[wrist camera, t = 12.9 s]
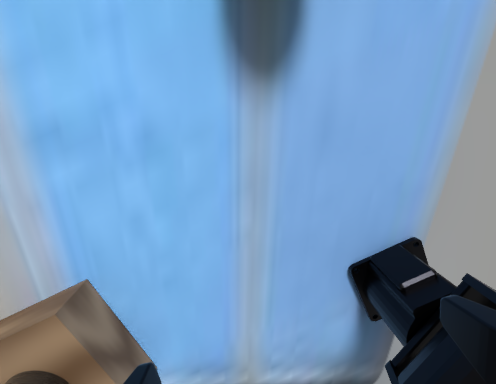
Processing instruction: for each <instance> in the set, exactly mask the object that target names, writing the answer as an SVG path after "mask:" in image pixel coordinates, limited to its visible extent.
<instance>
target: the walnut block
mask: <svg viewBox="0 0 496 384" xmlns="http://www.w3.org/2000/svg"><path fill="white" fill-rule="evenodd" d="M149 362H152V361H151V359H150V358H149V357H148V355H147V354H146V353H145V352H144V350H143V349H142V348H141V347H140V345H139V344H138V343H137V342H136V340H135V339H134V338H133V337H132V335H131V334H130V333H129V331H128V330H127V329H126V328H125V326H124V325H123V324H122V323H121V321H120V320H119V319H118V318H117V316H116V315H115V314H114V313H113V311H112V310H111V309H110V307H109V306H108V305H107V304H106V302H105V301H104V300H103V299H102V297H101V296H100V295H99V294H98V292H97V291H96V290H95V289H94V287H93V286H92V285H91V283H90V282H89V281H88V280H85V281H82V282H80V283H78V284H76V285H74V286H72V287H70V288H68V289H66V290H64V291H61V292H59V293H57V294H55V295H53V296H51V297H49V298H47V299H45V300H43V301H41V302H38V303H36V304H34V305H32V306H30V307H28V308H26V309H24V310H22V311H20V312H17V313H15V314H13V315H11V316H9V317H7V318H5V319H3V320H1V321H0V384H5V383H6V382H7V381H8V380H9V379H10V378H11V377H13V376H14V375H16V374H19V373H21V372H25V371H45V372H50V373H53V374H56V375H58V376H60V377H62V378H63V379H65V380H66V381H67V382H68V383H69V384H123V383H124V382H125V381H126V379H127V378H128V377H129V376H130V374H131V373H132V372H133V371H134V370H135V368H136V367H137V366H138V365H140V364H144V363H149ZM152 363H153V362H152ZM153 364H154V363H153ZM154 365H155V364H154ZM155 368H157V367H156V366H155Z"/></svg>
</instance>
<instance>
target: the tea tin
mask: <svg viewBox="0 0 496 384" xmlns="http://www.w3.org/2000/svg"><path fill="white" fill-rule="evenodd" d="M5 384H69V383H68V382H67V381H66V380H65V379H63V378H62V377H60V376H58V375H56V374H53V373H50V372H45V371H25V372H21V373H19V374H16V375H14V376H13V377H11V378H10V379H9V380H8V381H7V382H6V383H5Z"/></svg>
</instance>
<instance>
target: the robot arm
mask: <svg viewBox="0 0 496 384" xmlns="http://www.w3.org/2000/svg"><path fill="white" fill-rule="evenodd" d="M415 242H416V243H415ZM414 243H415V244H414ZM413 244H414V245H413ZM355 269H357V270H356V271H354V270H355ZM349 271H350V274H351V276H352V279H353V281H354V283H355V286H356V288H357V291H358V293H359V295H360V298H361V300H362V303H363V305H364V308H365V310H366V312H367V315H368V317H369V318H370V319H371V321H377V320H380V319H383V320H384V321H385V323H386V324H387V325H388V327H389V328H390V329H391V331H392V332H393V333H394V334H395V336H396V337H397V338H398V340H399V341H400V342H401V343H402V345H403V346H404V347H403V348H402V350H401V351H400V352H399V353H398V354H397V355H396V356H395V357H394V358H393V360H392V361H391V360H390V361H389V362H388V363H387V364H386V365H385V368H386V370H387V373H388V375H389V378H390V381H391V383H392V384H496V290H494V289H492V288H491V287H489V286H487V285H485V284H484V283H482V282H481V281H479V280H477V279H476V278H474V277H472V276H471V275H469V274H466V275H465V276H464V277H463V278H462V280H463V281H462V282H461V283H460V285H458V287H456V286H455V285H453V284H452V283H451V282H450V281H448V280H447V279H445V278H444V277H443V276H441V275H440V274H439V273H437V272H436V271H435V270H434V269H433V268H431V267H430V266H429V265H428V262H427V258H426V256H425V252H424V248H423V245H422V242H421V240H419V239H417V238H416V237H413V238H410V239H408V240H405V241H403V242H401V243H399V244H396V245H394V246H392V247H390V248H388V249H385V250H383V251H381V252H379V253H376V254H374V255H372V256H370V257H367V258H365V259H363V260H361V261H359V262H356V263H354V264H352V265H351V266H350V267H349ZM373 315H374V316H373ZM123 384H161V380H160V377H159V375H158V372H157V370H156V368H155V365H154V364H153V363H152V362H149V363H144V364H140V365H138V366H137V367H136V368H135V370H134V371H133V372H132V373H131V374H130V376H129V377H128V378H127V379H126V381H125V382H124V383H123Z"/></svg>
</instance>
